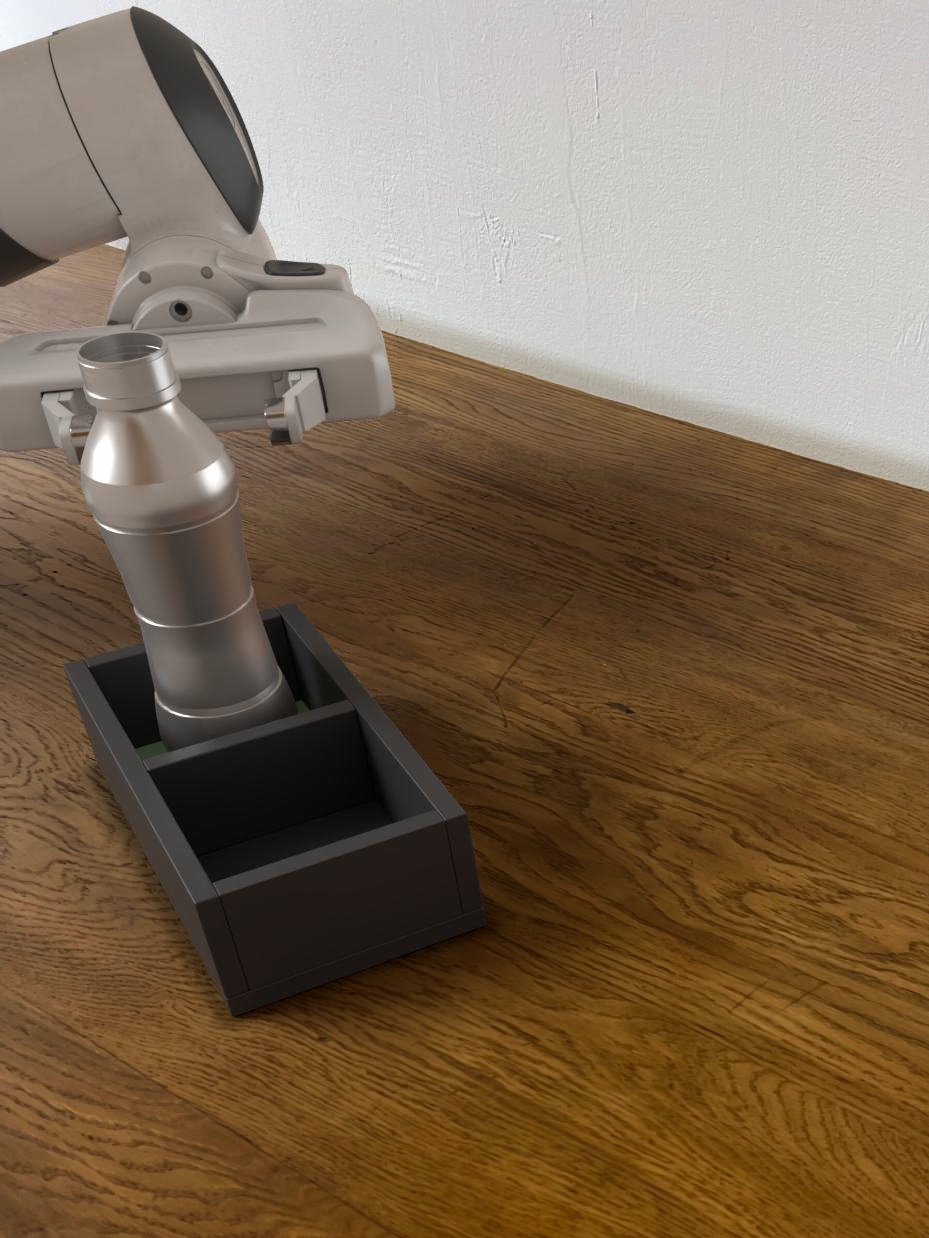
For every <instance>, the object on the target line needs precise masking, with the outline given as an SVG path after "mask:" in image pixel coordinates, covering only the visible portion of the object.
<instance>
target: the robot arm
mask: <svg viewBox="0 0 929 1238" xmlns="http://www.w3.org/2000/svg"><path fill="white" fill-rule="evenodd" d="M263 179H264V178H263V174H262V170H261V167H260V163H259V160H258V157H257V154H256V150H255V147H254V144H253V142H252V139H251V136H250V133H249V130H248V128H247V125H246V124H245V121H244V119H243V116H242V114H241V111H240V109H239V108H238V105H237V103H236V101H235V99H234V97H233V95H232V92H231V91H230V89H229V87H228V85H227V83H226V82H225V79H224V78H223V76H222V74H221V73H220V71H219V69H218V68H217V66H216V65H215V63H214V62H213V60H212V59H211V57H210V56H209V55H208V54H207V52H206V51H205V50H204V49H203V48H202V47H201V46H200V45H199V44H198V43H197V42H195V41H194V40H193V39H192V38H191V37H190V36H188V35H186V34H185V32H183V31H181V30H180V29H178V28H177V27H175V25H173V24H172V23H171V22H169V21H167V20H166V19H164V18H162V17H161V16H159V15H158V14H155V13H153V12H151V11H149V10H146V9H145V8H141V7H138V6H135V5H132V6H131V7H129V8H126V9H121V10H118V11H115V12H111V13H108V14H105V15H101V16H98V17H95V18H92V19H88V20H85V21H83V22H79V23H76V24H73V25H70V26H66V27H63V28H61V29H57V30H55V31H52V32H51V34H50V35H47V36H42V37H39V38H37V39H34V40H30V41H28V42H25V43H23V44H22V43H21V44H19V45H16V46H13V47H10V48H6V49H4V50H1V51H0V288H4V287H8V286H9V285H11V284H14V283H16V282H18V281H20V280H22V279H24V278H27V277H29V276H31V275H33V274H36V273H38V272H40V271H42V270H45V269H46V268H48V267H51V266H53V265H56V264H58V263H59V262H60V259H63V258H66V257H69V256H73V255H76V254H78V253H82V252H84V251H87V250H91V249H94V248H96V247H100V246H103V245H106V244H109V243H112V242H115V241H119V240H121V239H125V238H128V242H127V245H126V247H125V250H124V252H123V255H122V260H121V264H120V272H119V274H118V277H117V280H116V282H115V286H114V289H113V294H112V298H111V300H110V304H109V309H108V312H107V318H106V323H105V325H96V326H84V327H72V328H61V329H60V328H59V329H49V330H48V329H47V330H37V331H28V332H24V333H19V334H15V335H12V336H9V337H7V338H5V339H3V340H1V341H0V450H1V451H3V452H7V453H22V452H31V451H41V450H52V449H61V450H63V452H64V456H65V458H66V461H67V463H68V465H69V466H80V465H81V459H82V455H83V452H84V448H85V444H86V440H87V437H88V435H89V432H90V430H91V427H92V425H93V422H94V420H95V417H96V415H97V408H96V407H95V406H92V405H91V404H89V403H88V402H87V399H86V396H85V393H84V390H83V385H84V381H83V378H82V375H81V372H80V369H79V365H78V362H77V355H76V350H77V348H78V347H79V346H80V345H82V344H83V343H85V342H87V341H89V340H91V339H93V338H96V337H99V336H103V335H107V334H112V333H118V332H131V331H139V332H150V333H154V334H158V335H160V336H162V337H163V338H164V339H165V340H166V343H167V345H168V347H169V350H170V354H171V358H172V362H173V365H174V369H175V371H176V372H177V373H178V375H179V378H180V382H181V390H180V392H179V393H178V394H177V397H178V399H179V401H180V402H181V403H183V404H184V405H185V406H186V407H187V408H188V409H189V410H191V411H192V412H193V413H194V414H195V415H196V416H197V417H199V418H200V419H201V420H202V421H203V422H204V423H205V424H206V425H207V426H208V427H209V428H210V429H211V430H212V431H213V433H214V434H222V433H231V432H233V433H234V432H243V431H244V432H245V431H254V430H265V429H268V430H269V431H268V433H269V434H268V437H269V440H270V444H271V446H272V447H277V446H291V445H301V444H303V443H304V433H306V432H308V431H309V430H311V429H313V428H315V427H317V426H318V425H320V424H330V423H339V422H350V421H359V420H361V421H362V420H374V419H379V418H381V417H384V416H386V415H388V414H390V413H391V412H393V411H394V410H395V409H396V398H395V394H394V393H395V391H394V386H393V381H392V374H391V373H392V372H391V368H390V364H389V359H388V354H387V350H386V344H385V340H384V335H383V332H382V328H381V326H380V324H379V321H378V319H377V316H376V315H375V313H374V312H373V310H372V308H371V306H370V305H369V304H368V303H367V302H366V301H365V300H364V299H362V298H361V297H360V296H358V295H357V294H355V292H354V289H353V285H352V282H351V279H350V277H349V274H348V270H346V268H345V267H343V266H341V265H338V264H332V263H318V262H308V261H307V262H306V261H293V260H284V259H283V260H281V259H278V258H277V254H276V252H275V249H274V246H273V244H272V241H271V239H270V237H269V234H268V233H267V231H266V229H265V227H264V225H263V223H262V221H261V220H260V215H261V210H262V205H263V198H264V191H265V189H264V188H265V187H264V180H263Z"/></svg>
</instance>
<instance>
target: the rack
mask: <svg viewBox="0 0 929 1238" xmlns="http://www.w3.org/2000/svg"><path fill="white" fill-rule="evenodd" d="M259 614H260V617H261V619H262V622H263V625H264V628H265V631H266V634H267V636H268V639H269V642H270V645H271V648H272V650H273V653H274V656H275V659H276V662H277V665H278V666H279V668H280V670H281V672H282V673H283V675H284V677H285V679H286V681H287V683H288V685H289V688H290V690H291V693H292V695H293V697H294V700H295V702H296V705H297V707H298V714H297V715H294V716H290V717H287V718H284V719H280V720H277V721H273V722H270V723H267V724H263V725H260V726H256V727H253V728H250V729H246V730H243V731H239V732H236V733H233V734H229V735H226V736H222V737H219V738H216V739H212V740H209V741H205V742H202V743H199V744H195V745H192V746H189V747H185V748H182V749H178V750H175V751H172V752H168V751H167V749H166V747H165V745H164V743H163V741H162V739H161V736H160V732H159V726H158V720H157V715H156V707H155V688H154V684H153V679H152V675H151V671H150V666H149V662H148V657H147V653H146V649H145V644H144V642H140V643H137V644H133V645H129V646H126V647H122V648H117V649H114V650H110V651H107V652H103V653H99V654H95V655H92V656H88V657H84V658H80V659H77V660H71V661H69V662H65V663H62V668H63V671H64V674H65V677H66V679H67V683H68V685H69V688H70V691H71V694H72V697H73V698H74V701H75V705H76V707H77V710H78V712H79V716H80V718H81V721H82V723H83V727H84V728H85V732H86V734H87V738H88V740H89V743H90V746H91V748H92V749H91V750H92V751H93V754H94V757H95V761H96V762H97V765H98V768H99V770H100V772H101V774H102V777H103V779H104V780H105V782H106V784H107V786H108V787H109V789H110V792H111V793H112V795H113V797H114V798H115V801H116V802H117V804H118V806H119V808H120V810H121V812H122V813H123V816H124V818H125V819H126V821H127V823H128V826H129V827H130V829H131V830H132V833H133V834H134V836H135V838H136V840H137V841H138V844H139V845H140V848H141V849H142V851H143V853H144V855H145V857H146V859H147V860H148V862H149V864H150V866H151V869H152V870H153V872H154V874H155V875H156V877H157V879H158V881H159V883H160V885H161V886H162V887H161V888H163V891H164V893H165V894H166V896H167V898H168V900H169V902H170V903H171V905H172V907H173V909H174V911H175V913H176V915H177V916H178V918H179V920H180V922H181V924H182V926H183V928H184V930H185V931H186V933H187V936H188V937H189V939H190V941H191V942H192V945H193V946H194V949H195V950H196V953H197V954H198V956H199V958H200V960H201V961H202V963H203V965H204V967H205V969H206V971H207V973H208V975H209V976H210V978H211V980H212V982H213V984H214V986H215V988H216V990H217V992H218V993H219V995H220V997H221V999H222V1001H223V1003H224V1005H225V1006H226V1008H227V1010H228V1012H229V1014H230V1016H231V1017H232V1018H234V1017H237V1016H240V1015H242V1014H243V1015H244V1014H245V1013H248V1012H251V1011H254V1010H256V1009H259V1008H262V1007H265V1006H268V1005H270V1004H273V1003H276V1002H279V1001H281V1000H284V999H287V998H289V997H293V996H295V995H297V994H301V993H303V992H306V991H308V990H311V989H315V988H317V987H320V986H322V985H323V986H324V985H325V984H328V983H331V982H332V981H337V980H340V979H341V978H344V977H347V976H350V975H353V974H356V973H358V972H361V971H364V970H367V969H369V968H372V967H374V966H377V965H380V964H383V963H385V962H388V961H391V960H394V959H396V958H400V957H402V956H405V955H408V954H410V953H413V952H416V951H418V950H422V949H424V948H427V947H430V946H432V945H435V944H438V943H441V942H444V941H447V940H449V939H452V938H455V937H457V936H460V935H463V934H466V933H469V932H471V931H474V930H477V929H479V928H482V927H485V926H487V918H486V913H485V908H484V902H483V897H482V891H481V886H480V885H481V884H480V880H479V873H478V869H477V868H478V867H477V862H476V857H475V852H474V846H473V841H472V835H471V829H470V823H469V818H468V817H469V816H468V813H467V812H466V811H465V809H464V808H463V807H462V806H461V804H460V803H459V802H458V801H457V799H456V798H455V797H454V795H453V794H452V793H451V792H450V791H449V789H447V787H446V786H445V785H444V783H443V782H442V781H441V780H440V779H439V777H438V776H437V775H436V774H435V772H433V770H432V769H431V768H430V766H429V765H428V764H427V762H426V761H425V760H424V759H423V758H422V757H421V755H420V754H419V753H418V752H417V751H416V749H415V748H414V747H413V745H412V744H411V743H410V742H409V741H408V739H407V738H406V737H405V736H404V735H403V734H402V732H401V731H400V730H399V728H398V727H397V726H396V725H395V723H394V722H393V721H392V720H391V719H390V717H389V716H388V715H387V714H386V713H385V711H384V710H383V709H382V708H381V706H380V705H379V704H378V703H377V702H376V700H375V699H374V697H372V696H371V694H370V693H369V692H368V690H367V689H366V688H365V686H363V684H362V683H361V682H360V681H359V679H358V678H357V677H356V676H355V675H354V673H353V672H352V670H351V669H350V668H349V667H348V666H347V665H346V663H345V662H344V661H343V660H342V659H341V657H340V656H339V655H338V654H337V652H336V651H335V649H333V647H332V646H331V644H329V643H328V642H327V640H326V639H325V638H324V636H323V635H322V634H321V632H319V631H318V629H317V627H315V626H314V624H313V623H312V622H311V621H310V619H309V618H308V617H307V616H306V614H305V613H304V612H303V610H301V608H300V607H299V606H298V604H296V602H290V603H286V604H282V605H278V606H276V607H271V608H268V609H263V610H260V611H259Z"/></svg>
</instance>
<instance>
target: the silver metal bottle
mask: <svg viewBox="0 0 929 1238" xmlns="http://www.w3.org/2000/svg"><path fill="white" fill-rule="evenodd" d="M76 355H77V362H78V365H79V369H80V372H81V375H82V378H83V381H84V385H83V390H84V393H85V396H86V399H87V402H88V403H89V404H91V405H92V406H95V407H96V408H97V415H96V417H95V420H94V422H93V425H92V427H91V430H90V432H89V435H88V437H87V440H86V444H85V448H84V452H83V455H82V459H81V465H79V467H80V469H79V471H80V490H81V492H82V494H83V498H84V499H85V502H86V505H87V507H88V510H89V511H90V514H91V515H92V517H93V520H94V522H95V525H96V526H97V528H98V530H99V532H100V534H101V536H102V538H103V540H104V543H105V545H106V546H107V548H108V550H109V553H110V554H111V557H112V559H113V561H114V563H115V565H116V567H117V569H118V572H119V575H120V576H121V579H122V582H123V585H124V587H125V591H126V593H127V596H128V598H129V600H130V603H131V605H133V612H134V614H135V616H136V619H137V622H138V625H139V627H140V630H141V635H142V640H143V643H144V644H145V649H146V653H147V657H148V662H149V666H150V671H151V675H152V679H153V684H154V688H155V707H156V715H157V720H158V726H159V732H160V736H161V739H162V741H163V743H164V745H165V747H166V749H167V751H168V752H172V751H175V750H178V749H182V748H185V747H189V746H192V745H195V744H199V743H202V742H205V741H209V740H212V739H216V738H219V737H222V736H226V735H229V734H233V733H236V732H239V731H243V730H246V729H250V728H253V727H256V726H260V725H263V724H267V723H270V722H273V721H277V720H280V719H284V718H287V717H290V716H294V715H297V714H298V707H297V705H296V702H295V700H294V697H293V695H292V693H291V690H290V688H289V685H288V683H287V681H286V679H285V677H284V675H283V673H282V672H281V670H280V668H279V666H278V665H277V662H276V659H275V656H274V653H273V650H272V648H271V645H270V642H269V639H268V636H267V634H266V631H265V628H264V625H263V622H262V619H261V617H260V614H259V612H260V611H259V608H258V605H257V600H256V595H255V590H254V589H255V588H254V587H253V585H252V575H251V571H250V565H249V562H248V556H247V552H246V546H245V538H244V528H243V520H242V511H241V501H240V493H239V483H238V478H237V472H236V466H235V462H234V460H233V459H232V457H231V456H230V454H229V452H228V450H227V449H226V447H225V445H224V444H223V442H222V440H221V439H220V438H219V436H217V434H216V433H213V431H212V430H211V429H210V428H209V427H208V426H207V425H206V424H205V423H204V422H203V421H202V420H201V419H200V418H199V417H197V416H196V415H195V414H194V413H193V412H192V411H191V410H189V409H188V408H187V407H186V406H185V405H184V404H183V403H181V402H180V401H179V399H178V397H177V394H178V393H179V392H180V390H181V382H180V378H179V375H178V373H177V372H176V371H175V369H174V365H173V362H172V358H171V354H170V350H169V347H168V345H167V343H166V340H165V339H164V338H163V337H162V336H160V335H158V334H154V333H150V332H139V331H131V332H118V333H112V334H107V335H103V336H99V337H96V338H93V339H91V340H89V341H87V342H85V343H83V344H82V345H80V346H79V347H78V348H77V350H76Z"/></svg>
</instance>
